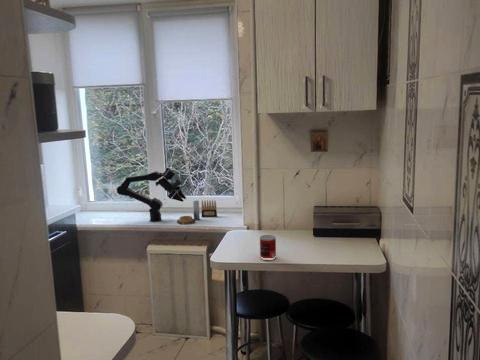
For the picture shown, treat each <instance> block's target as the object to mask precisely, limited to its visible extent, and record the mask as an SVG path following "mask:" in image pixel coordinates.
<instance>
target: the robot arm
mask: <svg viewBox="0 0 480 360" xmlns="http://www.w3.org/2000/svg"><path fill="white" fill-rule="evenodd" d="M175 175H177V173H176V171H174V170H173V169H172V168H170V167H167V168H166V169H165V170H164V172H159V171H157V170H155V171H153V172H150V173H146V174H140V175H134V176H126V178H125V179H124V181H123V182H122V183H121V184H120V185H119V186H117V187H116V193H117V194H118V195H121V196H124V197H125V196H126V197H129V198H132V199H134V200H137V201H138V202H141V203H143V204H146V205H148V206H149V208H150V209H148V211H149V220H148V222H156V223H157V222H160V221H161V220H162V213H161V211H160V210H161V209H162V207H163V202H162V201H161V199H159V198H157V197H153V198H149V197H147V196H145V195H143V194H140V193H139V192H136V191H133V190H132V189H131V188H130V187H129V186H130V185H131V183H135V182H136V183H137V182H143V181H148V182H149V181H150V182H155V187H158V186H160V187H161V188H163V189H164V191H166V192H168V195H167V197H168V198H169V199H170V200H176V201H177V202H178V201H179V202H184V200H186V199H187V197H186V196H185V194H184V192H183V191H182V190H183V189H182V186H181V185H182V184H183V183H182V180H181V179H178V178H177V179H175V181H174V182H171V180H172V179H173V178H174V177H175ZM169 180H170V181H169Z"/></svg>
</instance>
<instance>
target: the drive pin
mask: <svg viewBox="0 0 480 360" xmlns="http://www.w3.org/2000/svg"><path fill="white" fill-rule="evenodd" d="M192 208H193V211H192V212H193V214H192V215H193V219H195V222H196V221H200V219H201V218H200V201H199V200H192Z"/></svg>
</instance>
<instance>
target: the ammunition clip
mask: <svg viewBox="0 0 480 360" xmlns="http://www.w3.org/2000/svg"><path fill="white" fill-rule="evenodd" d="M217 211H218V210H217V201H216V200H213V199H211V200H208V199H207V200H202V199H201V218H216V217H218V212H217Z"/></svg>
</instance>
